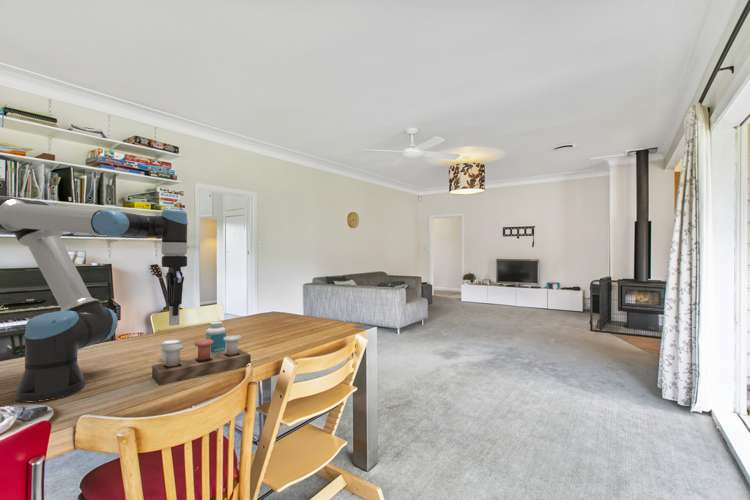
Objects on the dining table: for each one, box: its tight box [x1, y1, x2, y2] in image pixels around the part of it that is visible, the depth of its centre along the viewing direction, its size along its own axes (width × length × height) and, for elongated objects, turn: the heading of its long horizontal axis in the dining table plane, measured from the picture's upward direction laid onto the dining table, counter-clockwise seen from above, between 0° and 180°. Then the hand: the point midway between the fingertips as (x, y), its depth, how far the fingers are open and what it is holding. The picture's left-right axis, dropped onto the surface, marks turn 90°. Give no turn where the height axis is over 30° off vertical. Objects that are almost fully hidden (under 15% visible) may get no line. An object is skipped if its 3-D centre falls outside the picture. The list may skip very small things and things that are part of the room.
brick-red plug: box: [194, 339, 213, 360], centre depth 126 cm, size 6×6×6 cm
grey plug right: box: [224, 334, 242, 355], centre depth 133 cm, size 6×6×6 cm
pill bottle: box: [205, 321, 227, 355], centre depth 145 cm, size 8×7×14 cm
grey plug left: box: [163, 343, 184, 366], centre depth 119 cm, size 6×6×6 cm
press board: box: [151, 348, 252, 386], centre depth 126 cm, size 30×10×4 cm, turn 133°
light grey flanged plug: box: [160, 339, 182, 362], centre depth 139 cm, size 7×7×7 cm
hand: (174, 324), depth 119 cm, fingers closed
